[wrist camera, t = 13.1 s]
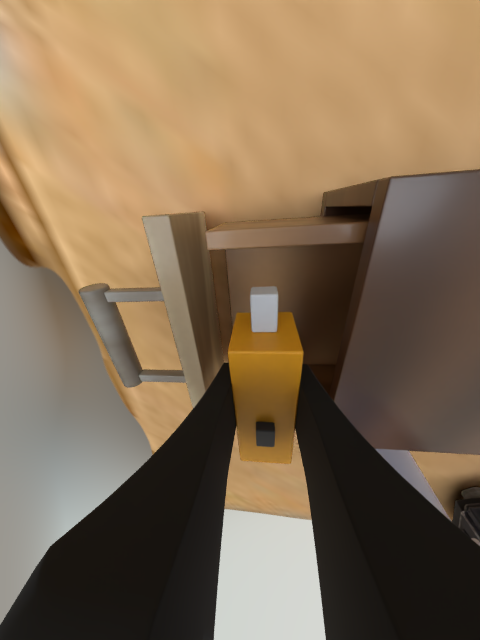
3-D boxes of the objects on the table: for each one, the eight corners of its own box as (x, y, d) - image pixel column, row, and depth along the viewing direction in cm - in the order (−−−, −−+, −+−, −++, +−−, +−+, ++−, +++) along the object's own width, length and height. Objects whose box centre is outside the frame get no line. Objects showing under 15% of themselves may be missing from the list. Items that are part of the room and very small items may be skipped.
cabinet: (302, 366, 20) (322, 445, 13) (323, 192, 13) (390, 176, 6) (466, 369, 18) (584, 461, 12) (597, 171, 11) (1098, 118, 4)
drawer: (165, 365, 20) (133, 417, 15) (118, 217, 14) (35, 223, 9) (357, 369, 18) (394, 431, 13) (409, 197, 12) (522, 189, 7)
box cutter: (285, 412, 13) (292, 474, 10) (244, 410, 13) (239, 470, 10) (294, 277, 8) (312, 315, 5) (233, 279, 9) (219, 316, 6)
